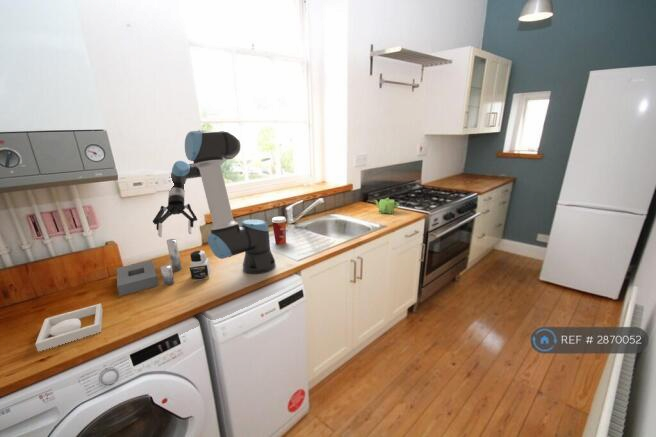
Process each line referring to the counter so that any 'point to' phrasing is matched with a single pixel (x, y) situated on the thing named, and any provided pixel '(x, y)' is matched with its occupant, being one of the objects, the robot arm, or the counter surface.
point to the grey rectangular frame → (47, 343)
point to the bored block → (136, 277)
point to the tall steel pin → (174, 255)
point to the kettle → (386, 206)
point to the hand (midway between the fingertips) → (174, 234)
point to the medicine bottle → (199, 266)
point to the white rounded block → (65, 327)
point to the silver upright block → (167, 275)
